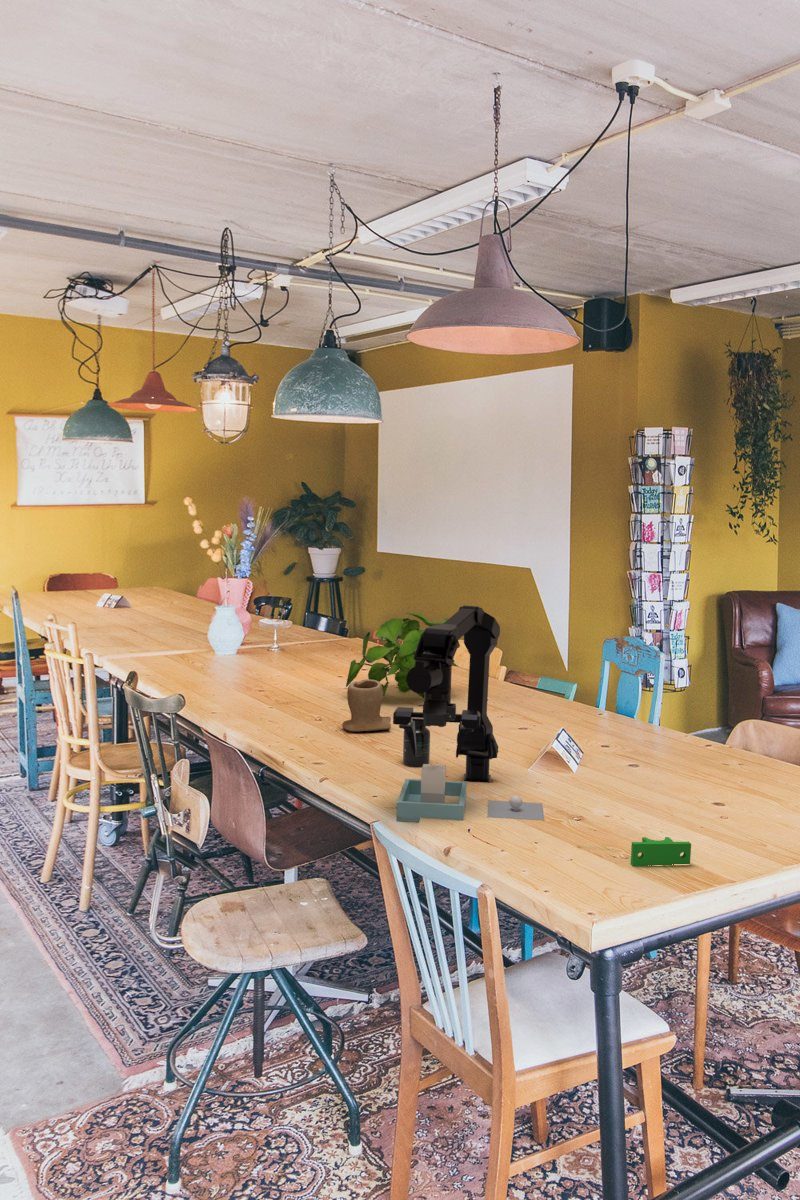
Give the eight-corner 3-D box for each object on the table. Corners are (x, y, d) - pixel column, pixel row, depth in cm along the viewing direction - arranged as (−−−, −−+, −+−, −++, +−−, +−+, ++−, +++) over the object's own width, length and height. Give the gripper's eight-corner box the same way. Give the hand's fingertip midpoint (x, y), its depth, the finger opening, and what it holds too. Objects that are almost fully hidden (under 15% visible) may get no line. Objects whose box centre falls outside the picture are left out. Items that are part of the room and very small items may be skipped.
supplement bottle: (399, 761, 254) (400, 715, 253) (423, 759, 256) (425, 714, 255) (408, 768, 248) (409, 721, 247) (433, 766, 250) (434, 720, 249)
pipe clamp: (682, 860, 189) (684, 836, 188) (689, 867, 185) (691, 843, 184) (625, 859, 188) (627, 836, 187) (632, 867, 184) (633, 843, 183)
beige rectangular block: (420, 808, 212) (421, 770, 212) (422, 801, 217) (423, 764, 217) (443, 810, 212) (444, 771, 211) (444, 803, 217) (445, 765, 216)
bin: (405, 795, 224) (405, 778, 224) (466, 799, 223) (466, 782, 223) (396, 820, 207) (396, 802, 206) (462, 824, 205) (463, 806, 205)
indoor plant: (422, 698, 303) (384, 609, 307) (344, 735, 332) (311, 654, 336) (508, 665, 334) (472, 585, 338) (430, 702, 363) (399, 628, 367)
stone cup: (347, 736, 280) (349, 684, 278) (339, 727, 291) (340, 677, 290) (399, 734, 284) (400, 683, 282) (388, 725, 295) (389, 676, 294)
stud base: (488, 804, 219) (488, 786, 219) (542, 807, 218) (542, 789, 218) (487, 821, 208) (487, 802, 207) (544, 825, 206) (545, 805, 206)
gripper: (390, 691, 206) (389, 763, 207) (480, 695, 204) (477, 768, 205) (396, 681, 217) (395, 750, 218) (481, 685, 215) (479, 754, 216)
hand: (435, 756), depth 214 cm, fingers open, 9 cm apart
